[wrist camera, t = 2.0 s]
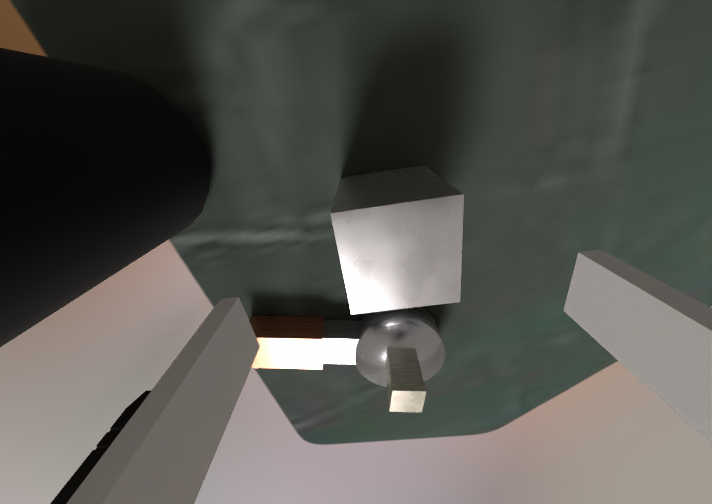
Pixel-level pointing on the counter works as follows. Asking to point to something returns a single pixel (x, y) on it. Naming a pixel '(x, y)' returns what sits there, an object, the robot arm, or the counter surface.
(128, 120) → the coffee jar
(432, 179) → the silver metal block
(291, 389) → the counter surface
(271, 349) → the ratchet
